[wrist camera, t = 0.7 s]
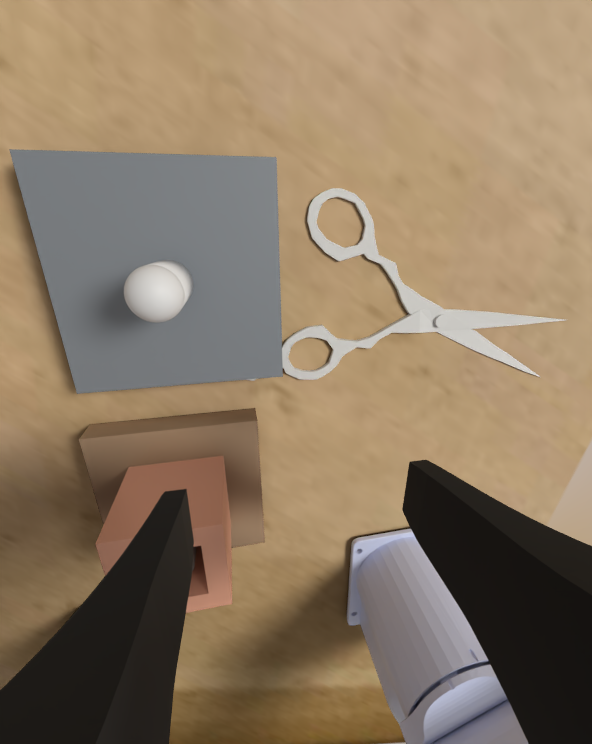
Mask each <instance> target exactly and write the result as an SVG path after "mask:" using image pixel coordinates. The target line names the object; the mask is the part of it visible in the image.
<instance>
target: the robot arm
mask: <svg viewBox="0 0 592 744" xmlns="http://www.w3.org/2000/svg"><path fill="white" fill-rule="evenodd" d="M402 510H403V512H404V515H405V517H406V519H407V521H408V523H409V526H410V529H405V530H399V531H393V532H387V533H382V534H376V535H370V536H365V537H359V538H356V539H354V540H353V541H352V544H351V559H350V575H349V590H348V606H347V622H348V624H349V625H351V626H353V625H358V624H360V625H361V628H362V631H363V634H364V637H365V640H366V643H367V645H368V648H369V651H370V654H371V657H372V660H373V663H374V665H375V668H376V671H377V674H378V677H379V680H380V683H381V686H382V688H383V691H384V694H385V697H386V700H387V703H388V705H389V707H390V709H391V712H392V713H393V715H394V717H395V719H396V720H397V721H398V723H399V725H400V728H401V731H402V733H403V736H404V739H405V742H406V744H592V546H590V545H587V544H585V543H583V542H580V541H578V540H576V539H573V538H571V537H569V536H567V535H565V534H563V533H560V532H558V531H556V530H554V529H552V528H549V527H547V526H545V525H543V524H541V523H539V522H537V521H535V520H533V519H531V518H529V517H527V516H525V515H523V514H521V513H520V512H518V511H516V510H514V509H512V508H510V507H508V506H506V505H505V504H503V503H501V502H499V501H497V500H495V499H494V498H492V497H490V496H488V495H487V494H485V493H483V492H481V491H480V490H478V489H476V488H475V487H473V486H471V485H469V484H468V483H466V482H464V481H463V480H461V479H459V478H458V477H456V476H454V475H453V474H451V473H449V472H447V471H446V470H444V469H442V468H441V467H439V466H437V465H435V464H433V463H431V462H429V461H428V460H421V461H413V462H410V463H409V469H408V476H407V483H406V489H405V496H404V503H403V509H402ZM193 547H194V538H193V531H192V524H191V517H190V510H189V503H188V495H187V489H181V490H173V491H165V492H164V493H163V494H162V495H161V497H160V499H159V500H158V502H157V503H156V505H155V507H154V508H153V510H152V511H151V513H150V515H149V516H148V518H147V519H146V521H145V522H144V524H143V525H142V527H141V528H140V530H139V531H138V533H137V534H136V535H135V537H134V538H133V540H132V541H131V542H130V544H129V545H128V547H127V548H126V549H125V551H124V552H123V554H122V555H121V556H120V558H119V559H118V560H117V562H116V563H115V564H114V565H113V567H112V568H111V569H110V571H109V572H108V573H107V574H106V576H105V577H104V578H103V580H102V581H101V582H100V583H99V585H98V586H97V587H96V588H95V590H94V591H93V592H92V593H91V594H90V596H89V597H88V598H87V599H86V600H85V602H84V603H83V604H82V605H81V606H80V607H79V609H78V610H77V611H76V612H75V613H74V614H73V615H72V616H71V618H70V619H69V620H68V621H67V622H66V623H65V624H64V625H63V627H62V628H61V629H60V630H59V631H58V632H57V633H56V634H55V635H54V636H53V637H52V638H51V639H50V640H49V641H48V643H47V644H46V645H45V646H44V647H43V648H42V649H41V650H40V651H39V652H38V653H37V654H36V655H35V656H34V657H33V658H32V659H31V660H30V661H29V662H28V663H27V664H26V665H25V667H24V668H23V669H22V670H21V671H20V672H19V673H18V674H17V675H16V676H15V677H14V678H13V679H12V680H10V681H9V682H8V683H7V684H6V685H5V686H4V687H3V688H2V689H1V690H0V744H169V735H170V724H171V713H172V702H173V690H174V683H175V675H176V668H177V661H178V656H179V650H180V644H181V638H182V632H183V626H184V620H185V614H186V608H187V602H188V596H189V590H190V584H191V578H192V564H193Z"/></svg>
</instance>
